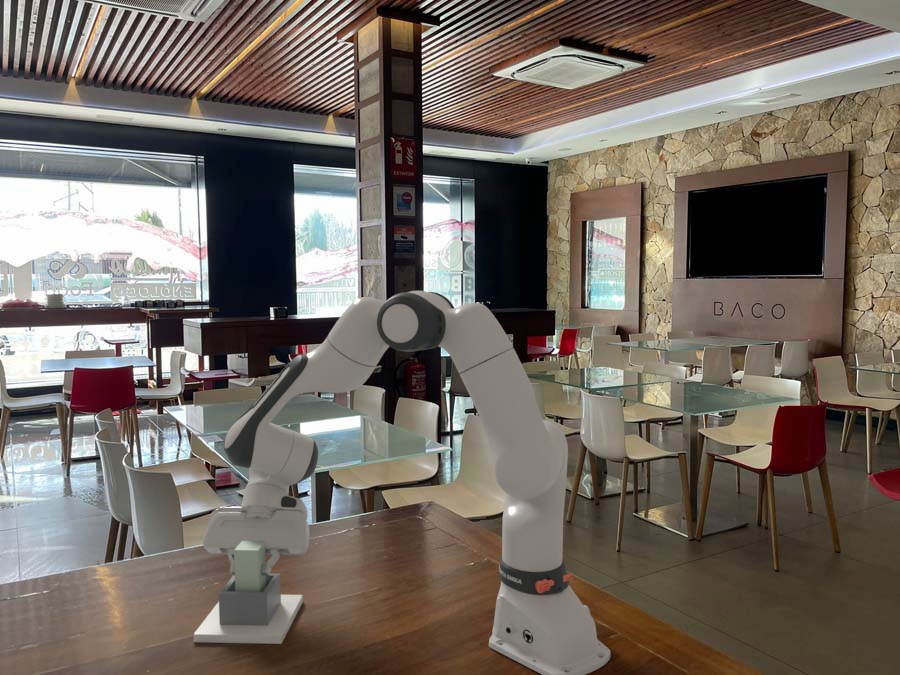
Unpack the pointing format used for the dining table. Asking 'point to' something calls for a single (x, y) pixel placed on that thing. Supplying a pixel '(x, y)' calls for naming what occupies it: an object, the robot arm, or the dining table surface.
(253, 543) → the sage block
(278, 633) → the well stand
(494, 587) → the dining table surface
